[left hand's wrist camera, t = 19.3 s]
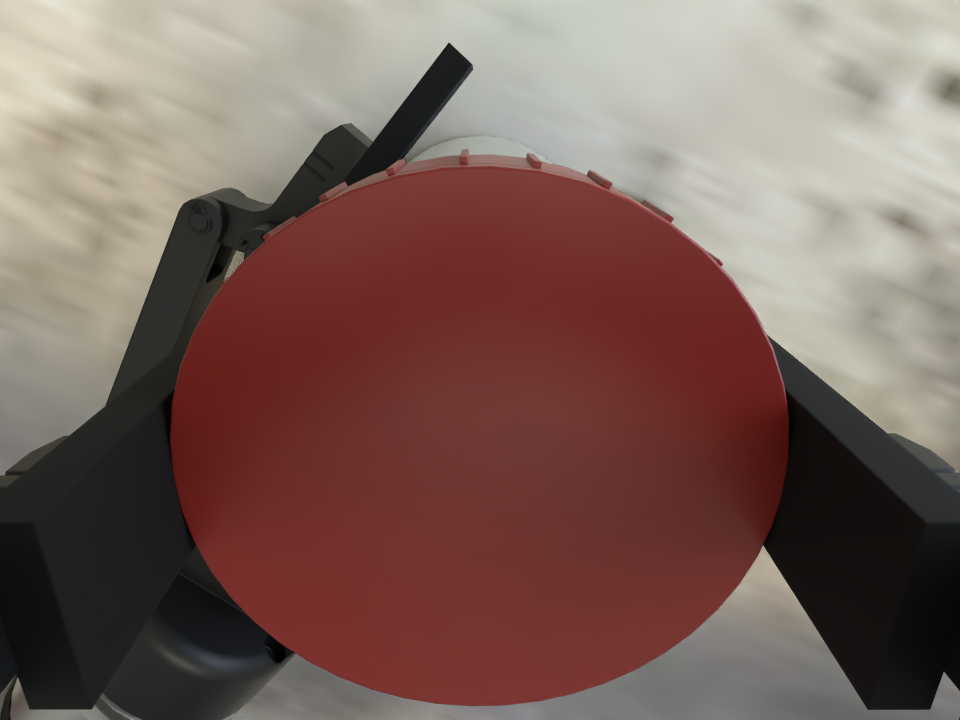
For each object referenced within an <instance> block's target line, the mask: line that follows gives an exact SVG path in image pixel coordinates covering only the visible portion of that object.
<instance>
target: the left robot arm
mask: <svg viewBox="0 0 960 720" xmlns="http://www.w3.org/2000/svg"><path fill="white" fill-rule="evenodd" d="M191 337H192V336H191ZM191 337H189V338H188V339H187V340H186V341H185V342H183V343H182V344H181V345H180V346H178V347H177V348H176V349H175V350H174V351H172V352H171V353H170V354H169V355H167V356H166V357H165V358H164V359H163V360H161V361H160V362H159V363H158V364H156V365H155V366H154V367H153V368H152V369H150V370H149V371H148V372H147V373H145V374H144V375H143V376H142V377H141V378H139V379H138V380H137V381H136V382H134V383H133V384H132V385H131V386H130V387H128V388H127V389H126V390H125V391H123V392H122V393H121V394H120V395H119V396H117V397H116V398H115V399H114V400H112V401H111V402H110V403H109V404H108V405H106V406H105V407H104V408H103V409H101V410H100V411H99V412H98V413H97V414H95V415H94V416H93V417H92V418H90V419H89V420H88V421H87V422H86V423H84V424H83V425H82V426H81V427H79V428H78V429H77V430H76V431H75V432H73V433H72V434H71V435H70V436H63V437H61V438H59V439H57V440H55V441H53V442H51V443H49V444H47V445H45V446H43V447H40V448H38V449H36V450H34V451H32V452H30V453H29V454H28V455H26V456H25V457H24V458H23V459H21V460H20V461H19V462H17V463H16V464H15V465H14V466H12V467H11V468H10V469H8V470H7V471H6V474H5V476H0V694H1V692H2V691H3V690H4V689H5V688H6V686H7V685H8V684H9V683H10V681H11V680H12V679H13V678H14V676H15V675H16V674H17V676H18V679H19V682H20V685H21V687H22V690H23V693H24V696H25V699H26V701H27V704H28V707H29V710H92V708H93V707H94V705H95V704H96V702H97V701H98V699H99V697H100V696H101V694H102V693H103V691H104V690H105V688H106V686H107V685H108V683H109V682H110V680H111V679H112V677H113V675H114V674H115V672H116V671H117V669H118V668H119V666H120V664H121V663H122V661H123V660H124V658H125V657H126V655H127V653H128V652H129V650H130V649H131V647H132V646H133V644H134V642H135V641H136V639H137V638H138V636H139V635H140V633H141V631H142V630H143V628H144V627H145V625H146V624H147V622H148V620H149V619H150V617H151V616H152V614H153V613H154V611H155V609H156V608H157V606H158V605H159V603H160V602H161V600H162V598H163V597H164V595H165V594H166V592H167V591H168V589H169V587H170V586H171V584H172V583H173V581H174V580H175V578H176V576H177V575H178V573H179V572H180V570H181V569H182V567H183V565H184V564H185V562H186V561H187V559H188V558H189V556H190V554H191V553H192V551H193V550H194V548H195V547H196V544H195V542H194V540H193V538H192V535H191V533H190V530H189V528H188V525H187V523H186V520H185V518H184V515H183V513H182V510H181V507H180V502H179V498H178V493H177V488H176V484H175V479H174V474H173V468H172V460H171V449H170V427H171V410H172V400H173V396H174V391H175V387H176V382H177V378H178V373H179V369H180V365H181V363H182V360H183V357H184V355H185V352H186V350H187V347H188V345H189V342H190V340H191ZM767 337H768V339H769V341H770V343H771V345H772V347H773V349H774V353H775V356H776V359H777V363H778V366H779V369H780V372H781V376H782V379H783V382H784V387H785V394H786V401H787V408H788V415H789V460H788V466H787V471H786V476H785V481H784V486H783V492H782V496H781V500H780V504H779V507H778V510H777V513H776V516H775V519H774V522H773V525H772V527H771V530H770V532H769V534H768V536H767V538H766V540H765V542H764V544H763V546H764V547H765V549H766V550H767V552H768V553H769V555H770V557H771V558H772V560H773V561H774V563H775V564H776V566H777V568H778V569H779V571H780V572H781V574H782V575H783V577H784V579H785V580H786V582H787V583H788V585H789V586H790V588H791V590H792V591H793V593H794V594H795V596H796V597H797V599H798V601H799V602H800V604H801V605H802V607H803V608H804V610H805V612H806V613H807V615H808V616H809V618H810V619H811V621H812V623H813V624H814V626H815V627H816V629H817V630H818V632H819V634H820V635H821V637H822V638H823V640H824V641H825V643H826V645H827V646H828V648H829V649H830V651H831V652H832V654H833V656H834V657H835V659H836V660H837V662H838V663H839V665H840V667H841V668H842V670H843V671H844V673H845V674H846V676H847V678H848V679H849V681H850V682H851V684H852V685H853V687H854V689H855V690H856V692H857V693H858V695H859V696H860V698H861V700H862V701H863V703H864V704H865V706H866V707H867V709H868V710H930V708H931V705H932V703H933V700H934V697H935V694H936V692H937V689H938V686H939V683H940V680H941V678H942V675H943V672H945V673H946V674H947V676H948V677H949V678H950V679H951V681H952V682H953V683H954V684H955V685H956V687H957V688H958V689H959V690H960V473H955V469H954V468H952V467H951V466H950V465H949V464H947V463H946V462H945V461H943V460H942V459H941V458H940V457H938V456H937V455H936V454H934V453H933V452H932V451H931V450H929V449H927V448H925V447H923V446H921V445H919V444H916V443H914V442H912V441H910V440H908V439H906V438H904V437H902V436H900V435H898V434H887V433H886V432H885V431H884V430H883V429H881V428H880V427H879V426H878V425H876V424H875V423H874V422H873V421H872V420H870V419H869V418H868V417H867V416H865V415H864V414H863V413H862V412H861V411H859V410H858V409H857V408H856V407H854V406H853V405H852V404H851V403H850V402H848V401H847V400H846V399H845V398H843V397H842V396H841V395H840V394H839V393H837V392H836V391H835V390H834V389H832V388H831V387H830V386H829V385H828V384H826V383H825V382H824V381H823V380H821V379H820V378H819V377H818V376H817V375H815V374H814V373H813V372H812V371H810V370H809V369H808V368H807V367H806V366H804V365H803V364H802V363H801V362H799V361H798V360H797V359H796V358H795V357H793V356H792V355H791V354H790V353H788V352H787V351H786V350H785V349H784V348H782V347H781V346H780V345H779V344H777V343H776V342H775V341H774V340H773V339H771V338H770V337H769V336H768V335H767ZM959 720H960V718H959Z"/></svg>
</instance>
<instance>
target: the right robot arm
mask: <svg viewBox="0 0 960 720" xmlns="http://www.w3.org/2000/svg"><path fill="white" fill-rule="evenodd" d="M472 70H473V66H472V64H471V63H470V62H469V61H468V60H467V59H466V58H465V57H464V56H463V55H462V54H461V53H459V52H458V51H457V50H456V49H455V48H454V47H453V46H452V45H451V44H450V43H448V45H447V46H446V47H445V48H444V50H443V51H442V52H441V54H440V55H439V56H438V58H437V59H436V60H435V62H434V63H433V64H432V66H431V67H430V68H429V69H428V71H427V72H426V73H425V75H424V76H423V77H422V79H421V80H420V81H419V83H418V84H417V85H416V87H415V88H414V89H413V90H412V92H411V93H410V94H409V96H408V97H407V98H406V100H405V101H404V102H403V104H402V105H401V106H400V108H399V109H398V110H397V111H396V113H395V114H394V115H393V117H392V118H391V119H390V121H389V122H388V123H387V125H386V126H385V127H384V129H383V130H382V131H381V132H380V134H379V135H378V136H377V138H376V139H375V140H374V142H372V141H371V140H370V139H369V138H368V137H367V136H365V135H364V134H363V133H362V132H361V131H360V130H358V129H357V128H356V127H355V126H354V125H353V124H352V123H350V124H344V125H341V126H339V127H337V128H335V129H334V130H332V131H330V132H328V133H327V134H325V135H324V136H323V137H322V139H321V140H320V141H319V143H318V144H317V146H316V147H315V148H314V150H313V151H312V153H311V154H310V155H309V156H308V158H307V159H306V161H305V162H304V164H303V165H302V166H301V167H300V169H299V170H298V172H297V173H296V174H295V176H294V177H293V178H292V180H291V181H290V182H289V184H288V185H287V187H286V188H285V189H284V191H283V192H282V193H281V195H280V196H279V197H278V199H277V200H276V202H275V203H274V204H265V203H261V202H258V201H255V200H253V199H250V198H247V197H246V196H245V195H244V194H243V193H242V192H240V191H239V190H237V189H233V188H223V189H220V190H217V191H214V192H211V193H209V194H206V195H203V196H200V197H197V198H194V199H191V200H189V201H187V202H186V203H184V204H183V205H182V207H181V208H180V210H179V212H178V215H177V218H176V220H175V223H174V226H173V228H172V231H171V233H170V236H169V239H168V241H167V244H166V247H165V249H164V252H163V255H162V257H161V260H160V263H159V265H158V268H157V271H156V273H155V276H154V279H153V281H152V284H151V286H150V289H149V292H148V294H147V297H146V300H145V302H144V305H143V308H142V310H141V313H140V316H139V318H138V321H137V324H136V326H135V329H134V332H133V334H132V337H131V339H130V342H129V345H128V347H127V350H126V353H125V355H124V358H123V361H122V363H121V366H120V369H119V371H118V374H117V377H116V379H115V382H114V385H113V387H112V390H111V392H110V395H109V398H108V400H107V403H106V405H108V404H109V403H110V402H111V401H112V400H114V399H115V398H116V397H117V396H119V395H120V394H121V393H122V392H123V391H125V390H126V389H127V388H128V387H130V386H131V385H132V384H133V383H134V382H136V381H137V380H138V379H139V378H141V377H142V376H143V375H144V374H145V373H147V372H148V371H149V370H150V369H152V368H153V367H154V366H155V365H156V364H158V363H159V362H160V361H161V360H163V359H164V358H165V357H166V356H167V355H169V354H170V353H171V352H172V351H174V350H175V349H176V348H177V347H178V346H180V345H181V344H182V343H183V342H185V341H186V340H187V339H188V338H189V337H191V336H192V334H193V332H194V330H195V328H196V326H197V325H198V323H199V321H200V320H201V318H202V316H203V314H204V313H205V311H206V309H207V308H208V306H209V304H210V302H211V301H212V299H213V297H214V296H215V294H216V293H217V292H218V291H219V290H220V285H221V284H222V282H223V280H224V278H225V275H226V273H227V270H228V268H229V266H230V263H231V261H232V259H233V256H234V254H235V251H236V250H238V251H241V252H244V253H245V255H244V260H245V259H246V258H247V257H248V256H250V255H251V254H252V253H253V252H254V251H255V250H256V249H257V248H258V247H259V246H261V245H262V244H263V243H264V242H265V240H264V239H263V238H262V237H263V236H264V235H265V234H266V233H268V232H269V231H271V230H273V229H274V228H276V227H277V226H279V225H281V224H282V223H284V222H285V221H287V220H289V219H290V218H292V217H294V216H295V217H296V218H298V217H300V216H301V215H303V214H304V213H305V212H307V211H308V210H310V209H312V208H313V207H315V206H316V205H318V204H319V203H321V201H320V199H319V196H321V195H323V194H324V193H326V192H328V191H329V190H331V189H333V188H334V187H336V186H338V185H339V184H341V183H343V182H346V184H347V186H350V185H352V184H354V183H356V182H359V181H361V180H363V179H365V178H367V177H369V176H371V175H373V174H376V173H379V172H382V171H385V170H386V169H387V168H388V167H390V166H391V165H393V164H394V163H395V162H397V161H398V160H401V159H403V158H404V157H405V156H406V154H407V153H408V152H409V150H410V149H411V148H412V147H413V145H414V144H415V143H416V142H417V140H418V139H419V138H420V136H421V135H422V134H423V133H424V131H425V130H426V129H427V128H428V126H429V125H430V124H431V122H432V121H433V120H434V119H435V117H436V116H437V115H438V114H439V112H440V111H441V110H442V108H443V107H444V106H445V105H446V103H447V102H448V101H449V100H450V98H451V97H452V96H453V94H454V93H455V92H456V91H457V89H458V88H459V87H460V86H461V84H462V83H463V82H464V80H465V79H466V78H467V77H468V75H469V74H470V73H471V72H472ZM295 654H296V653H295V652H293V651H292V650H290V649H289V648H287V647H286V646H284V645H283V644H281V643H280V642H279V641H277V640H276V639H275V638H274V637H272V636H271V635H270V634H269V633H267V632H266V631H265V630H264V629H263V628H261V627H260V626H259V625H258V624H256V623H255V622H254V621H253V620H252V619H251V618H250V617H249V616H248V615H247V614H246V613H245V612H244V610H243V609H242V608H241V607H240V606H239V605H238V604H237V603H236V602H235V601H234V600H233V599H232V598H231V597H230V596H229V594H228V593H227V592H226V590H225V589H224V588H223V586H222V585H221V584H220V582H219V581H218V580H217V578H216V577H215V576H214V574H213V573H212V572H211V570H210V568H209V567H208V565H207V563H206V561H205V560H204V558H203V556H202V554H201V553H200V551H199V549H198V547H197V546H196V547H195V548H194V550H193V551H192V553H191V554H190V556H189V558H188V559H187V561H186V562H185V564H184V565H183V567H182V569H181V570H180V572H179V573H178V575H177V576H176V578H175V580H174V581H173V583H172V584H171V586H170V587H169V589H168V591H167V592H166V594H165V595H164V597H163V598H162V600H161V602H160V603H159V605H158V606H157V608H156V609H155V611H154V613H153V614H152V616H151V617H150V619H149V620H148V622H147V624H146V625H145V627H144V628H143V630H142V631H141V633H140V635H139V636H138V638H137V639H136V641H135V642H134V644H133V646H132V647H131V649H130V650H129V652H128V653H127V655H126V657H125V658H124V660H123V661H122V663H121V664H120V666H119V668H118V669H117V671H116V672H115V674H114V675H113V677H112V679H111V680H110V682H109V683H108V685H107V686H106V688H105V690H104V691H103V693H102V694H101V696H100V697H99V699H98V701H97V702H96V704H95V705H94V707H93V708H92V710H29V707H28V704H27V701H26V699H25V696H24V693H23V690H22V687H21V685H20V682H19V679H18V676H17V674H16V676H15V677H14V678H13V679H12V680H11V682H10V683H9V684H8V685H7V686H6V688H5V689H4V690H3V691H2V692H1V694H0V720H230V719H231V718H232V717H233V716H234V714H235V713H236V712H237V711H238V710H239V709H240V708H241V707H243V706H244V705H245V704H246V703H247V702H248V701H249V700H250V699H251V698H252V697H253V696H254V695H255V694H256V693H257V692H258V691H259V690H260V689H261V688H262V687H263V686H264V685H265V684H266V683H267V682H268V681H269V680H270V679H271V678H272V677H273V676H274V675H275V674H276V673H277V672H278V671H279V670H280V669H281V668H282V667H283V666H284V665H285V664H286V663H287V662H288V661H289V660H290V659H291V658H292V657H293V656H294V655H295Z"/></svg>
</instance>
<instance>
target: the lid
mask: <svg viewBox="0 0 960 720" xmlns="http://www.w3.org/2000/svg"><path fill="white" fill-rule="evenodd" d="M611 186H612V183H611V182H610V181H608V180H606V179H605V178H603V177H602V176H600V175H598V174H597V173H595V172H593V171H591V170H589V171H588V174H587V175H585V174H582V173H580V172H577V171H575V170H572V169H570V168H567V167H563V166H559V165H555V164H550V163H546V162H542V161H540V160H539V159H538V158H537V157H536V156H535V155H534V154H532V153H527V156H526V158H521V157H512V156H502V155H492V154H482V155H469V149H462V151H461V154H460V155H453V156H445V157H439V158H433V159H427V160H422V161H416V162H410V163H407V164H406V162H405V159H401V160H398V161H397V162H395V163H394V164H393V165H391V166H390V167H388V168H387V169H386V170H385V171H382V172H379V173H376V174H373V175H371V176H369V177H367V178H365V179H363V180H361V181H359V182H356V183H354V184H352V185H350V186H347V184H346V182H343V183H341V184H339V185H338V186H336V187H334V188H333V189H331V190H329V191H328V192H326V193H324V194H323V195H321V196H319V199H320V201H321V203H319V204H318V205H316V206H315V207H313V208H312V209H310V210H308V211H307V212H305V213H304V214H303V215H301V216H300V217H298V218H296V217H295V216H294V217H292V218H290V219H289V220H287V221H285V222H284V223H282V224H281V225H279V226H277V227H276V228H274V229H273V230H271V231H269V232H268V233H266V234H265V235H264V236H263V237H262V238H263V239H264V240H265V242H264V243H263V244H262V245H261V246H259V247H258V248H257V249H256V250H255V251H254V252H253V253H252V254H251V255H250V256H248V257H247V258H246V259H245V260H244V261H243V262H242V263H241V264H240V265H239V266H238V267H237V269H236V270H235V271H234V272H233V274H232V275H231V276H230V277H229V278H227V279H226V280H225V281H223V282H222V284H221V285H220V290H219V291H218V292H217V293H216V294H215V296H214V297H213V299H212V301H211V302H210V304H209V306H208V308H207V309H206V311H205V313H204V314H203V316H202V318H201V320H200V321H199V323H198V325H197V326H196V328H195V330H194V332H193V334H192V337H191V340H190V342H189V345H188V347H187V350H186V352H185V355H184V357H183V360H182V363H181V365H180V369H179V373H178V378H177V382H176V387H175V391H174V396H173V400H172V410H171V427H170V449H171V460H172V468H173V474H174V479H175V484H176V488H177V493H178V498H179V502H180V507H181V510H182V513H183V515H184V518H185V520H186V523H187V525H188V528H189V530H190V533H191V535H192V538H193V540H194V542H195V544H196V546H197V547H198V549H199V551H200V553H201V554H202V556H203V558H204V560H205V561H206V563H207V565H208V567H209V568H210V570H211V572H212V573H213V574H214V576H215V577H216V578H217V580H218V581H219V582H220V584H221V585H222V586H223V588H224V589H225V590H226V592H227V593H228V594H229V596H230V597H231V598H232V599H233V600H234V601H235V602H236V603H237V604H238V605H239V606H240V607H241V608H242V609H243V610H244V612H245V613H246V614H247V615H248V616H249V617H250V618H251V619H252V620H253V621H254V622H255V623H256V624H258V625H259V626H260V627H261V628H263V629H264V630H265V631H266V632H267V633H269V634H270V635H271V636H272V637H274V638H275V639H276V640H277V641H279V642H280V643H281V644H283V645H284V646H286V647H287V648H289V649H290V650H292V651H293V652H295V653H296V654H298V655H300V656H301V657H303V658H304V659H306V660H307V661H309V662H311V663H313V664H315V665H317V666H319V667H321V668H323V669H325V670H327V671H329V672H330V673H332V674H334V675H336V676H338V677H341V678H343V679H346V680H349V681H351V682H354V683H356V684H359V685H362V686H364V687H367V688H370V689H372V690H376V691H380V692H384V693H387V694H391V695H395V696H398V697H402V698H407V699H413V700H419V701H424V702H430V703H436V704H449V705H463V706H497V705H512V704H520V703H529V702H537V701H542V700H547V699H552V698H556V697H561V696H565V695H570V694H574V693H577V692H580V691H583V690H586V689H589V688H592V687H595V686H598V685H601V684H604V683H607V682H609V681H611V680H613V679H616V678H618V677H620V676H622V675H625V674H627V673H629V672H632V671H634V670H636V669H638V668H639V667H641V666H643V665H645V664H646V663H648V662H650V661H652V660H653V659H655V658H657V657H659V656H660V655H662V654H664V653H665V652H667V651H668V650H670V649H671V648H672V647H674V646H675V645H676V644H678V643H679V642H681V641H682V640H683V639H685V638H686V637H687V636H689V635H690V634H692V633H693V632H694V631H695V630H696V629H697V628H698V627H699V626H700V625H701V624H702V623H704V622H705V621H706V620H707V619H708V618H709V617H710V616H711V615H712V614H713V613H714V612H716V611H717V610H718V608H719V607H720V606H721V605H722V604H723V603H724V601H725V600H726V599H727V598H728V597H729V596H730V594H731V593H732V592H733V591H734V590H735V589H736V587H737V586H738V585H739V584H740V582H741V581H742V579H743V578H744V576H745V575H746V573H747V572H748V570H749V569H750V567H751V565H752V564H753V562H754V561H755V559H756V558H757V556H758V554H759V552H760V550H761V548H762V546H763V544H764V542H765V540H766V538H767V536H768V534H769V532H770V530H771V527H772V525H773V522H774V519H775V516H776V513H777V510H778V507H779V504H780V500H781V496H782V492H783V486H784V481H785V476H786V471H787V466H788V460H789V415H788V408H787V401H786V394H785V387H784V382H783V379H782V376H781V372H780V369H779V366H778V363H777V359H776V356H775V353H774V349H773V347H772V345H771V343H770V341H769V339H768V337H767V335H766V333H765V330H764V328H763V326H762V324H761V322H760V320H759V318H758V316H757V314H756V312H755V311H754V309H753V308H752V307H751V305H750V304H749V302H748V301H747V299H746V298H745V296H744V295H743V294H742V292H741V291H740V289H739V288H738V286H737V285H736V283H735V282H734V281H733V279H732V278H731V277H730V276H729V275H728V274H727V273H726V272H725V271H724V270H723V269H722V268H721V266H722V265H723V263H722V262H721V261H720V260H719V259H718V258H716V257H715V256H713V255H712V254H710V253H709V252H707V251H706V250H704V249H703V248H702V247H701V246H699V245H698V244H697V243H696V242H694V241H693V240H692V239H691V238H689V237H688V236H687V235H685V234H684V233H683V232H682V231H680V230H679V229H678V228H676V227H675V226H674V225H673V224H671V222H672V221H673V219H674V218H673V217H672V216H670V215H669V214H667V213H666V212H664V211H662V210H661V209H659V208H657V207H656V206H654V205H652V204H651V203H649V202H647V201H646V200H643V202H642V203H639V202H638V201H636V200H634V199H632V198H631V197H629V196H627V195H625V194H624V193H622V192H620V191H618V190H617V189H615V188H613V187H611Z"/></svg>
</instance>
